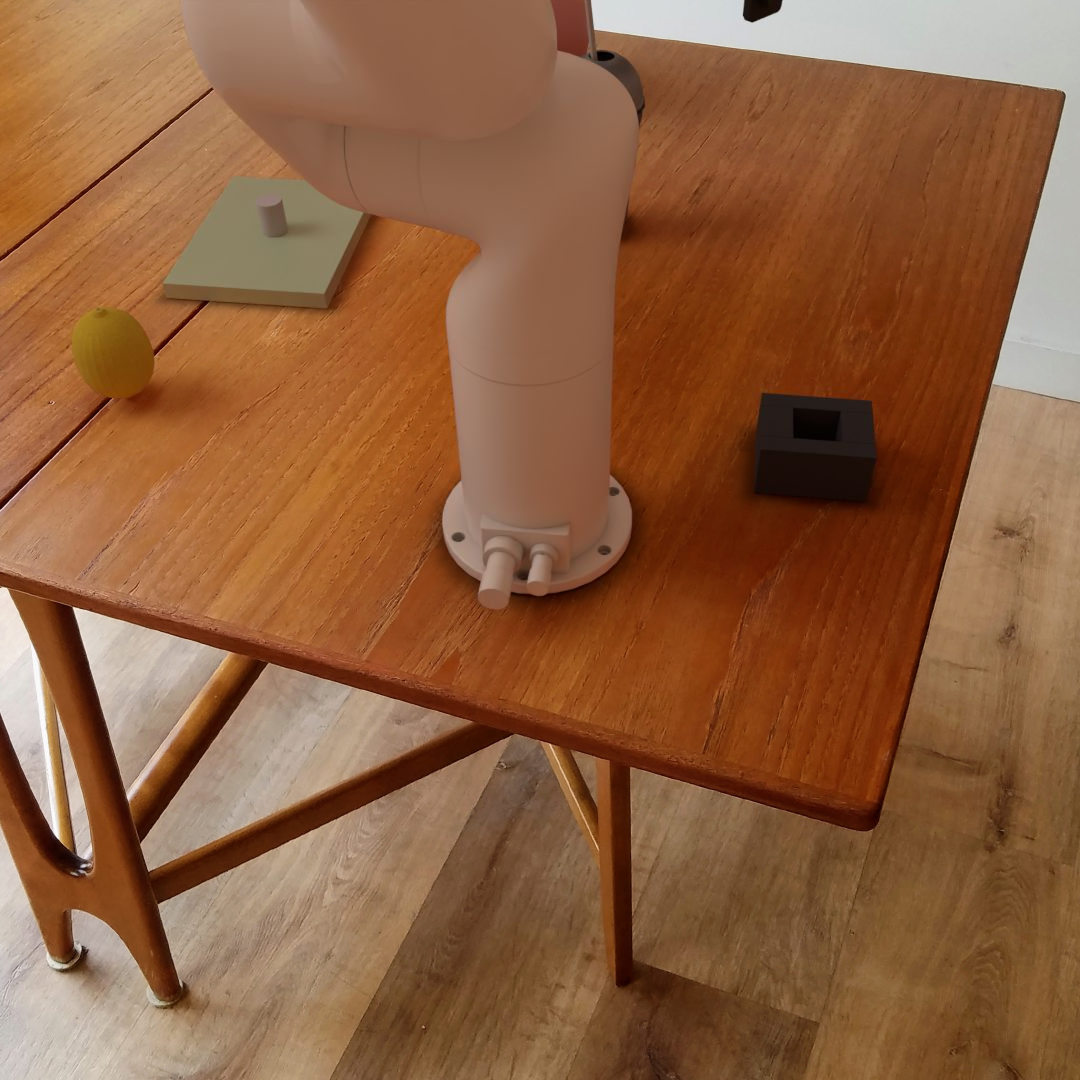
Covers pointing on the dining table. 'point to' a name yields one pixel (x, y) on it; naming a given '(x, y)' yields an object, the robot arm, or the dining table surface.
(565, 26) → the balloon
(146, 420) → the dining table surface
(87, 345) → the lemon
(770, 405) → the black hollow block
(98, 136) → the dining table surface
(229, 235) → the base pad
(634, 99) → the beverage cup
